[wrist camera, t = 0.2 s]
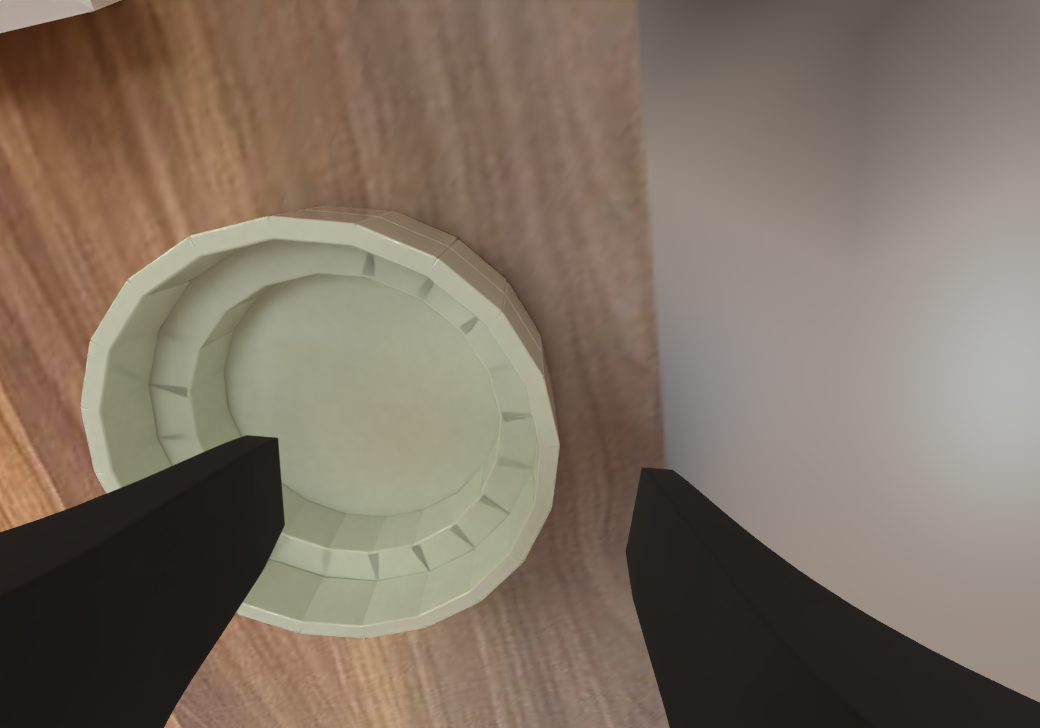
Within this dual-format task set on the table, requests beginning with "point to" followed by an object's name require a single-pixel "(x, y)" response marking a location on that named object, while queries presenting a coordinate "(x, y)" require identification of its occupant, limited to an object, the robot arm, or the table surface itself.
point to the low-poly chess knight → (43, 11)
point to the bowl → (341, 407)
